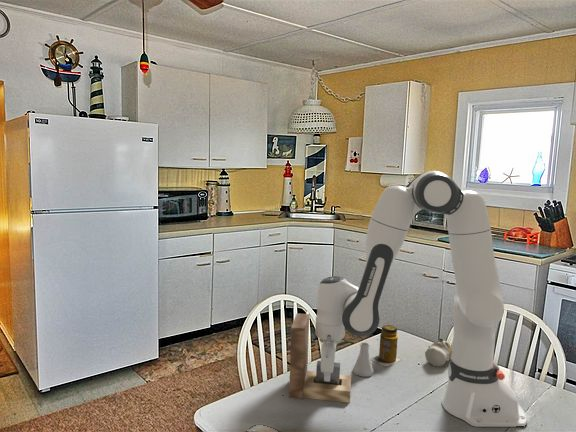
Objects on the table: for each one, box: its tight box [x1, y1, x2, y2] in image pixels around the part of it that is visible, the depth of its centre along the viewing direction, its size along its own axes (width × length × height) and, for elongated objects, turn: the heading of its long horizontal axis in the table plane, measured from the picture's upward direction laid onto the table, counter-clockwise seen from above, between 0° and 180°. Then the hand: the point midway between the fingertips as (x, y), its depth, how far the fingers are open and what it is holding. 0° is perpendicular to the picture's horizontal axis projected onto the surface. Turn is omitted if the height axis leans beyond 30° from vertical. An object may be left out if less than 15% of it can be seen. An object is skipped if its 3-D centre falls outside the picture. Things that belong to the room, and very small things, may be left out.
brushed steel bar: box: [315, 360, 341, 385], centre depth 141 cm, size 7×3×9 cm, turn 81°
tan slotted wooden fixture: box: [288, 312, 352, 404], centre depth 140 cm, size 18×12×22 cm, turn 81°
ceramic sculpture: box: [424, 338, 452, 367], centre depth 164 cm, size 11×9×15 cm
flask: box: [352, 341, 375, 378], centre depth 154 cm, size 7×7×10 cm
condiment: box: [370, 324, 401, 367], centre depth 163 cm, size 7×8×12 cm
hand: (328, 372), depth 141 cm, fingers open, 8 cm apart
